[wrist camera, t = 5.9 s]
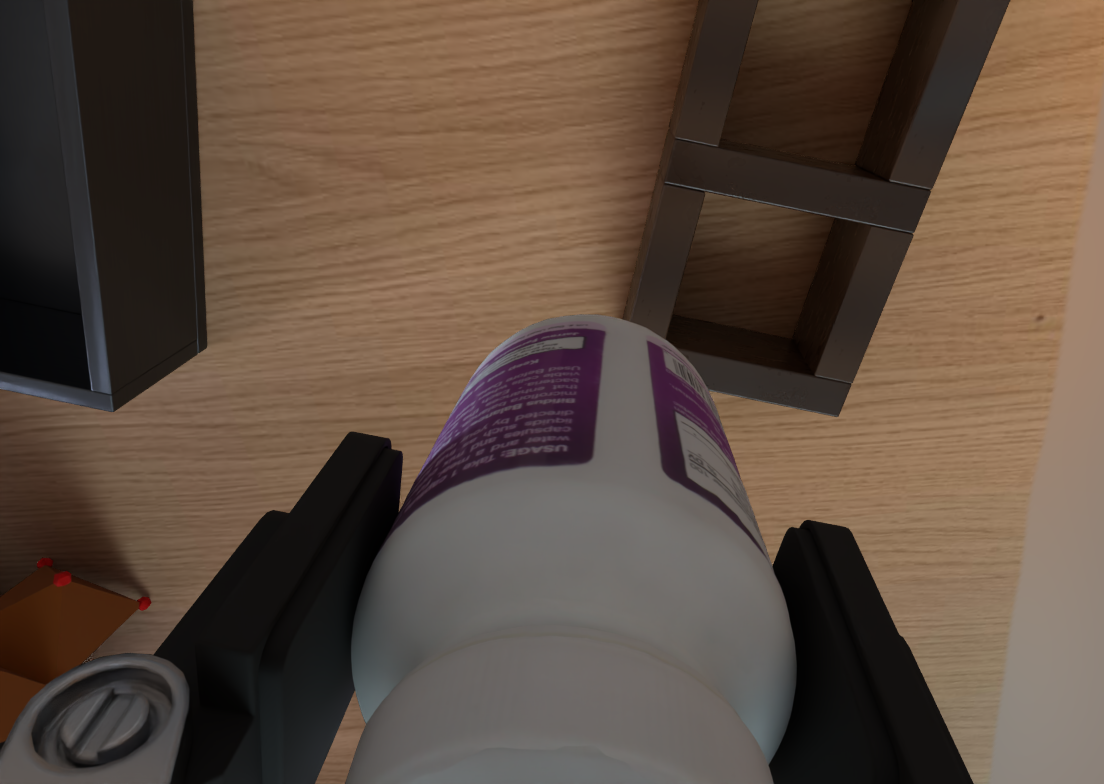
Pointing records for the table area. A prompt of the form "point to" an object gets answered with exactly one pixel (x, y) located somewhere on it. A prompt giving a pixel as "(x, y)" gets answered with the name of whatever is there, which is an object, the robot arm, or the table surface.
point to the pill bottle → (575, 583)
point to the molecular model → (51, 632)
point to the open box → (98, 198)
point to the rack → (806, 200)
